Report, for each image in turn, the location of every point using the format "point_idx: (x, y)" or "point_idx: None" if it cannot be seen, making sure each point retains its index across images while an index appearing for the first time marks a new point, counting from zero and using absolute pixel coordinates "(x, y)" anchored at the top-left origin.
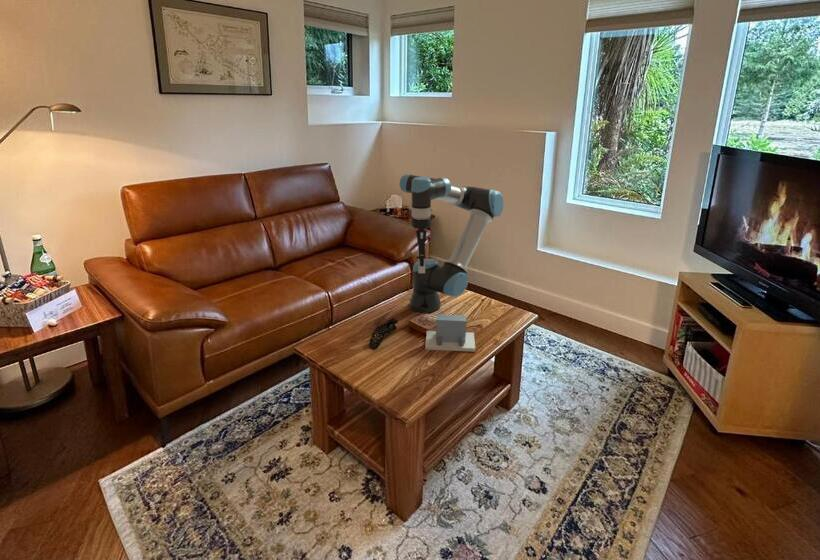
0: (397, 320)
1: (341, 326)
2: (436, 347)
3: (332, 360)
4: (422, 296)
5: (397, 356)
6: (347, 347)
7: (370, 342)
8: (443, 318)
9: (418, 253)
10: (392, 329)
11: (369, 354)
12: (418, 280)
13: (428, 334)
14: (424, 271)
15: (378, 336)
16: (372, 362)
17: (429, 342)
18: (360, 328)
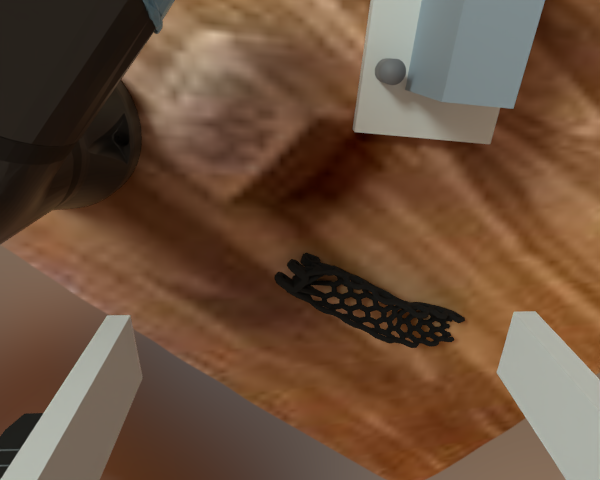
0: (293, 263)
1: (285, 416)
2: None
3: (493, 413)
4: (88, 160)
5: (512, 244)
6: (425, 387)
7: (439, 339)
8: (503, 61)
9: (101, 461)
10: (355, 275)
11: (480, 328)
12: (26, 218)
13: (390, 126)
14: (547, 331)
15: (401, 318)
16: None
17: (462, 125)
18: (300, 365)
